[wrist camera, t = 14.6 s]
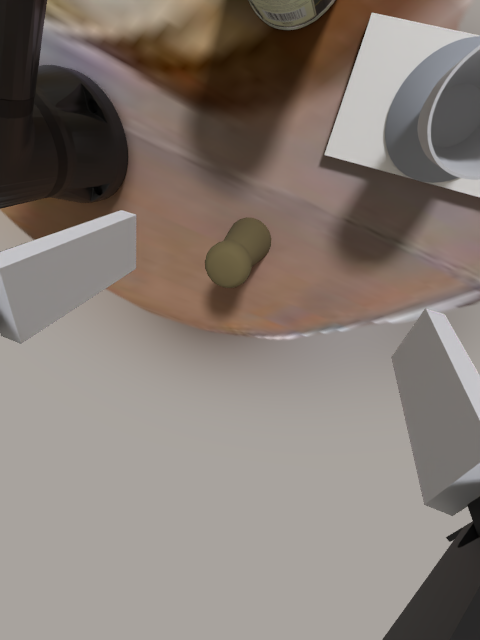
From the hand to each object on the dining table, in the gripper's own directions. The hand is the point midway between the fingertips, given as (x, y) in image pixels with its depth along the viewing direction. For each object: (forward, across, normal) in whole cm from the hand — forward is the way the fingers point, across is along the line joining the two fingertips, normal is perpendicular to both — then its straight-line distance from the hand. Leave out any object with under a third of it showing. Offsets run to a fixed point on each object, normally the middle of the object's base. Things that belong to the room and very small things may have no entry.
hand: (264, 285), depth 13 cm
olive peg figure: (+27, -6, -8) cm, 29 cm away
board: (+27, +10, +10) cm, 30 cm away
